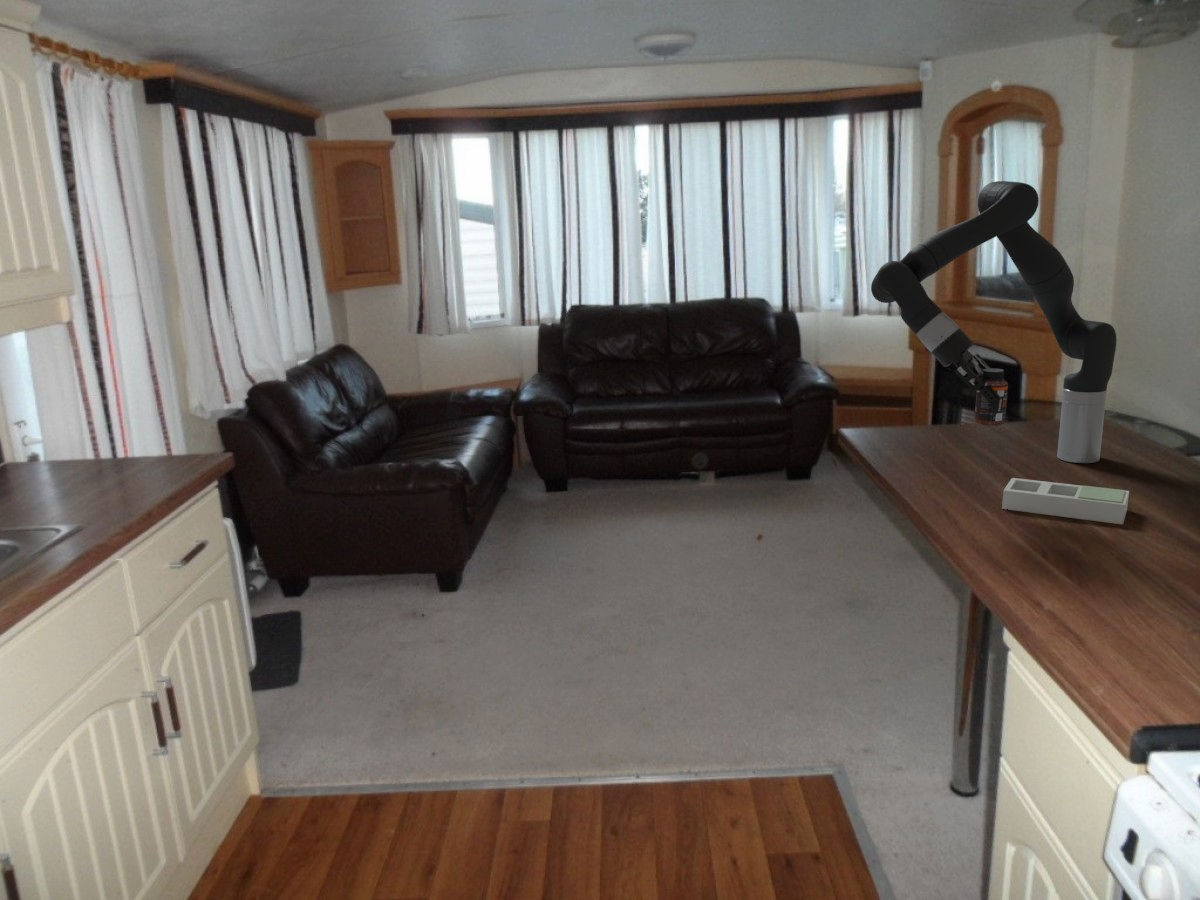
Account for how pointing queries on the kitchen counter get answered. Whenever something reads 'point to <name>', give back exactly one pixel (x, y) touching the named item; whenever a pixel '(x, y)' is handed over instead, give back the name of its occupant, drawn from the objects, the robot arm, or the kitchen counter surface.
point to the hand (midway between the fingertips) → (1000, 399)
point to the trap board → (1066, 500)
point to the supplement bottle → (983, 408)
